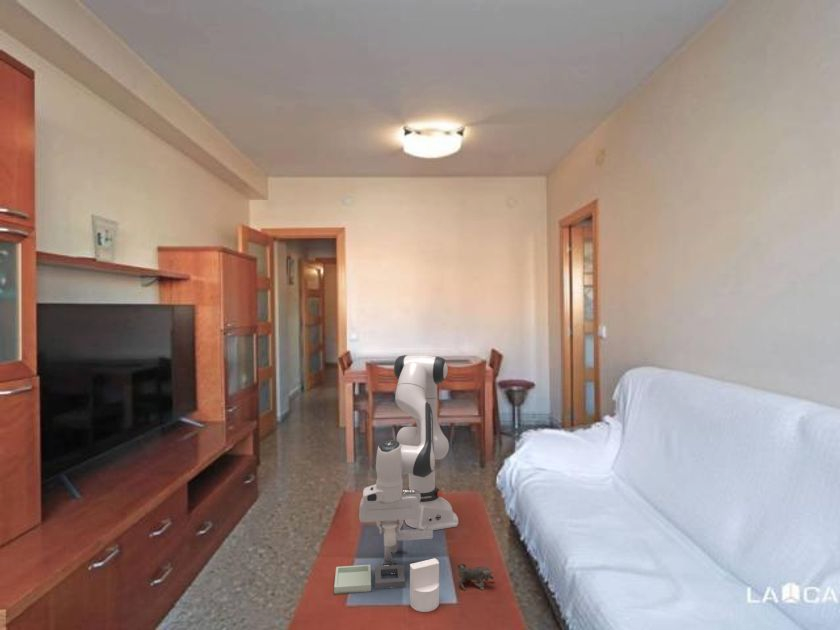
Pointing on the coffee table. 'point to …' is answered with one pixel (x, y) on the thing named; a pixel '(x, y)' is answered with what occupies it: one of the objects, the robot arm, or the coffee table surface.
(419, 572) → the cylinder with rectangular tab
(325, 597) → the coffee table surface
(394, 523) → the plug
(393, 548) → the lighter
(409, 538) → the grey square bar
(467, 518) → the coffee table surface
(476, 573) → the dog figurine
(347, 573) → the tray
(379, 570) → the socket
